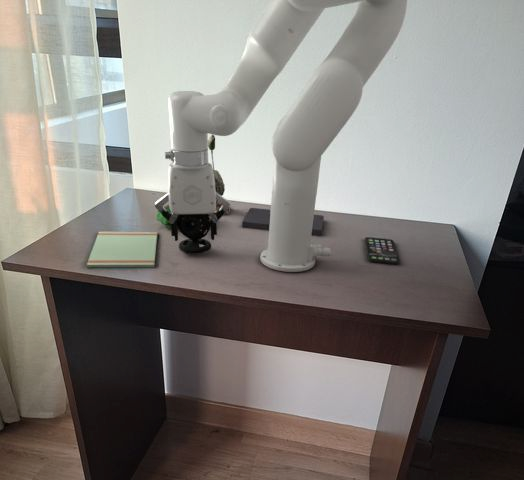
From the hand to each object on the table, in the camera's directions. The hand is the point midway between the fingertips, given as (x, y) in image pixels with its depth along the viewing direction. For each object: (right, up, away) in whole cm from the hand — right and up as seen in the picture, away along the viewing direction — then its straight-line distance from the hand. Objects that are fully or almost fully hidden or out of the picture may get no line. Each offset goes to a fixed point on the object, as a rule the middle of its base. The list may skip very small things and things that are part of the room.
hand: (194, 238), depth 111 cm
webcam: (0, -2, +1) cm, 3 cm away
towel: (-16, -3, 0) cm, 16 cm away
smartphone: (+45, -1, +9) cm, 46 cm away
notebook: (+22, +9, +22) cm, 32 cm away
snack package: (-5, +8, +17) cm, 20 cm away
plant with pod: (+2, +14, +28) cm, 31 cm away
